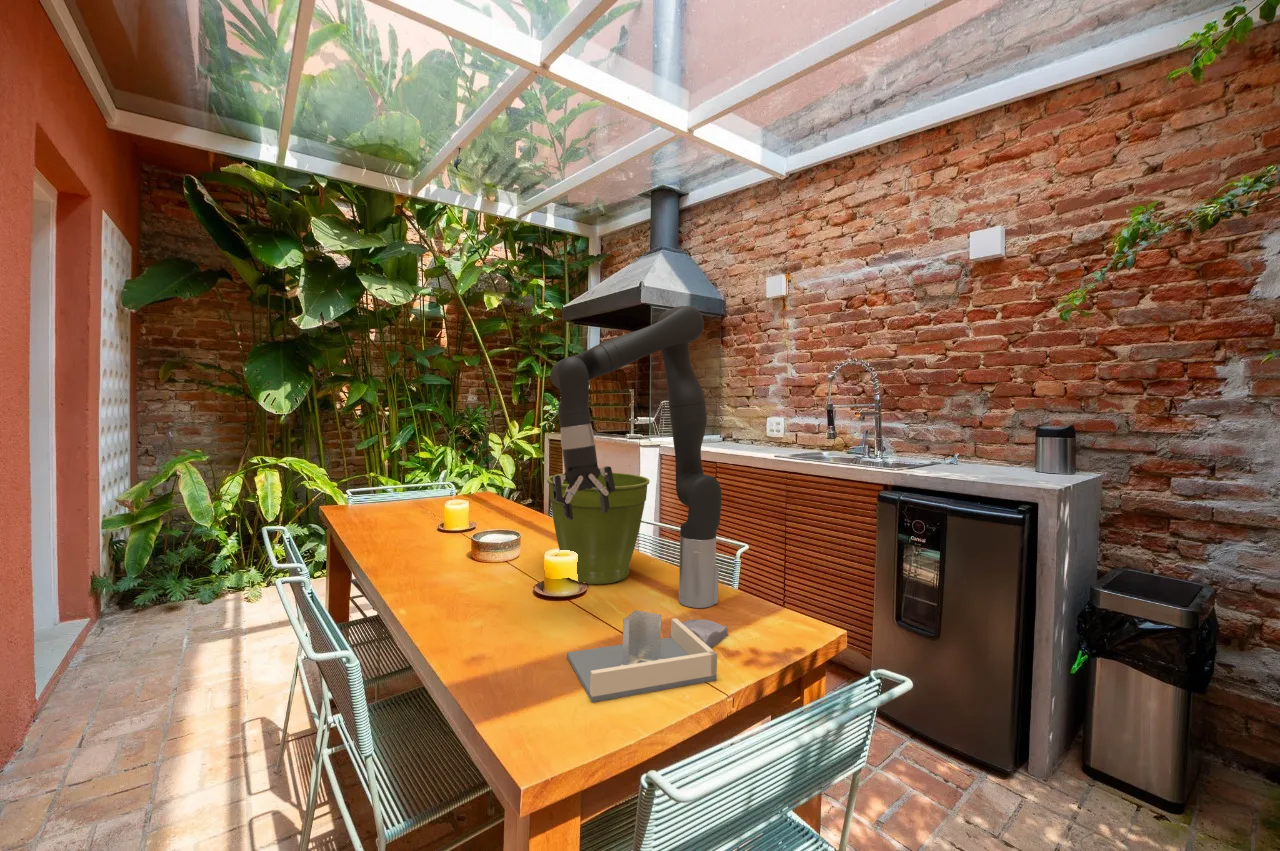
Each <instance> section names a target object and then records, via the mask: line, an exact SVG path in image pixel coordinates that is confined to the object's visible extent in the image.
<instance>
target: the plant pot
mask: <svg viewBox="0 0 1280 851" xmlns="http://www.w3.org/2000/svg"><path fill="white" fill-rule="evenodd" d="M564 474H565V472H564V473H558V474H556V475H564ZM612 474H613V479H614V485H615V491H614V492H611V493H610V494H609V495H608V499H609V509H608V512H605V513H604V512H602V511H601V503H600V496H601V494H600V493H599V492H598V491H597V490H596V489H594V488H592V489H584V490H581V491H578V490H577V491H576V493H575V495H573V497H572V499H571V501H570V503H571V505H572V513H573V520H568V519H567V518H566V517H565V516H564V509H563V504H562V503H561V502H556V501H554V497H553V484H552V476H553V475H550V476H548V477H546V482H547V484H548V488H549V489H548V490H549V491H548V492H549V499H550V504H551V513H552V519H553V526H554V530H555V535H556V541H557V544H558V545H557V546H558V550H559V551H560V550H570V551H574V552H576V553H577V554H578V562H577V574H578V581H579V582H578V583H580V582H585V583H584V584H586V583H587V584H588V585H605V584H612V583H617V582H620V581H622V580H624V579H626V578H627V577H628V576H629V574H630V564H631V560H632V558H633V554H634V551H635V548H636V545H637V540H638V536H639V533H640V529H641V523H642V518H643V513H644V509H645V502H646V501H647V495H648V494H647V493H648V485H649V484H650V482H651V481H650V479H649V478H647V477H645V476H642V475H639V474H638V475H636V474H633V473H632V474H631V473H624V472H623V473H622V472H620V473H619V472H612ZM597 480H598V481H599V482H600V483H601V484H602V485H603V487H604V488H606V484H605V479H604V476H602V474H601V473H600V475H599V477H598V479H597ZM568 485H569V483H568V482H567V481H566V480H564V481H563V484H562V485H561V489H562V497H563V496H564V494H565V490H566V488H567V486H568Z"/></svg>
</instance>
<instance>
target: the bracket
mask: <svg viewBox="0 0 1280 851" xmlns="http://www.w3.org/2000/svg"><path fill="white" fill-rule="evenodd" d="M622 623H623V625H622V644H623V665H630V664H632V663H633V662H634V661H635V660H636V659H637V658H639V659H644V660H648V661H655V660H660V647H661V639H662V632H661V631H662V614H660V613H653V612H649V611H643V610H638V609H634V610H633V611H632V612H631V613H629V615H627V616H626V617H624V618H623V622H622Z"/></svg>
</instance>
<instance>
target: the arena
mask: <svg viewBox="0 0 1280 851" xmlns="http://www.w3.org/2000/svg"><path fill="white" fill-rule="evenodd" d="M670 622H671V623H670V624H671V626H670V632H671V636H672V638H671V636H670V637H665V638H661V647H660V660H655V661H648V660H644V659H639V658H637V659H636V660H635V661H634V662H633V663H632V664H630V665H623V643H622V644H617V645H610V646H609V645H608V646H602V647H596V648H589V649H582V650H575V651H569V652H566V658H567V660H568V662H569V664H570V666H571V667H572V670H573V671H574V672H575V675H576V676H577V678H578V680H579V682H580V683H581V685H582V687H583V689H584V691H585V693H586V694H587V697H588V698H589V699H590V701H591V703H596V702H603V701H607V700H608V701H609V700H614V699H618V698H626V697H631V696H636V695H642V694H648V693H653V692H658V691H665V690H671V689H675V688H681V687H687V686H692V685H697V684H703V683H709V682H714V681H717V676H718V673H717V672H718V653H717V652H716V651H714V650H713V649H712V648H710V647H709V646H708V645H707V644H705V643H704V642H703V641H702V640H701V639H700V638H698V637H697V636H696V635H695V634H694V633H693V632H692V631H690V630H689V629H688V628H687V627H686V626H685V625H684V624H682V623H683V622H681V621H680V620H679V619H678V618H671V621H670Z"/></svg>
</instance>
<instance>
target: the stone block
mask: <svg viewBox="0 0 1280 851" xmlns="http://www.w3.org/2000/svg"><path fill="white" fill-rule="evenodd" d="M681 623H682V624H684V625H685V626H686V627H687V628H688V629H689V630H690V631H692V632H693V633H694V634H695V635H696V636H697V637H698V638H700V639H701V640H702V641H703V642H704V643H705V644H707V645H708V646H709V647H710V648H711V649H712V648H714V647H715V646H716V645H718V644H719V643H720V642H722V641H723V640H724V639H725V638H726V636H728V630H729V628H728V626H726V625H721V624H720V623H719V622H718V623H717V622H716V621H712V620H710V619H709V620H708V619H698V618H697V619H688V620H686V621H684V622H681ZM669 633H670V637H671V638H672V636H671V631H670V632H669Z"/></svg>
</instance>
